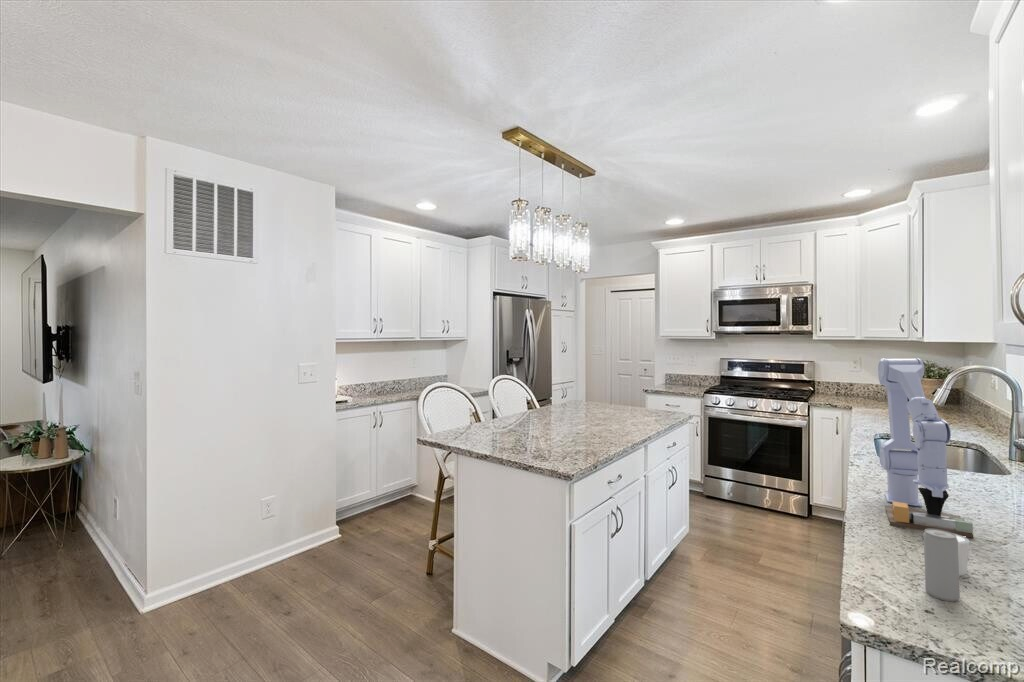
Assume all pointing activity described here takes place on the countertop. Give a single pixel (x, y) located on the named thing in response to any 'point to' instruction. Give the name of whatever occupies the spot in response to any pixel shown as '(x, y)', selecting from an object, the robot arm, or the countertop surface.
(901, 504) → the collar
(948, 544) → the beverage can
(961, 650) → the countertop surface
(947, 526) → the tong board
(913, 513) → the tong arm
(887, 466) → the robot arm
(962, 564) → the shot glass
